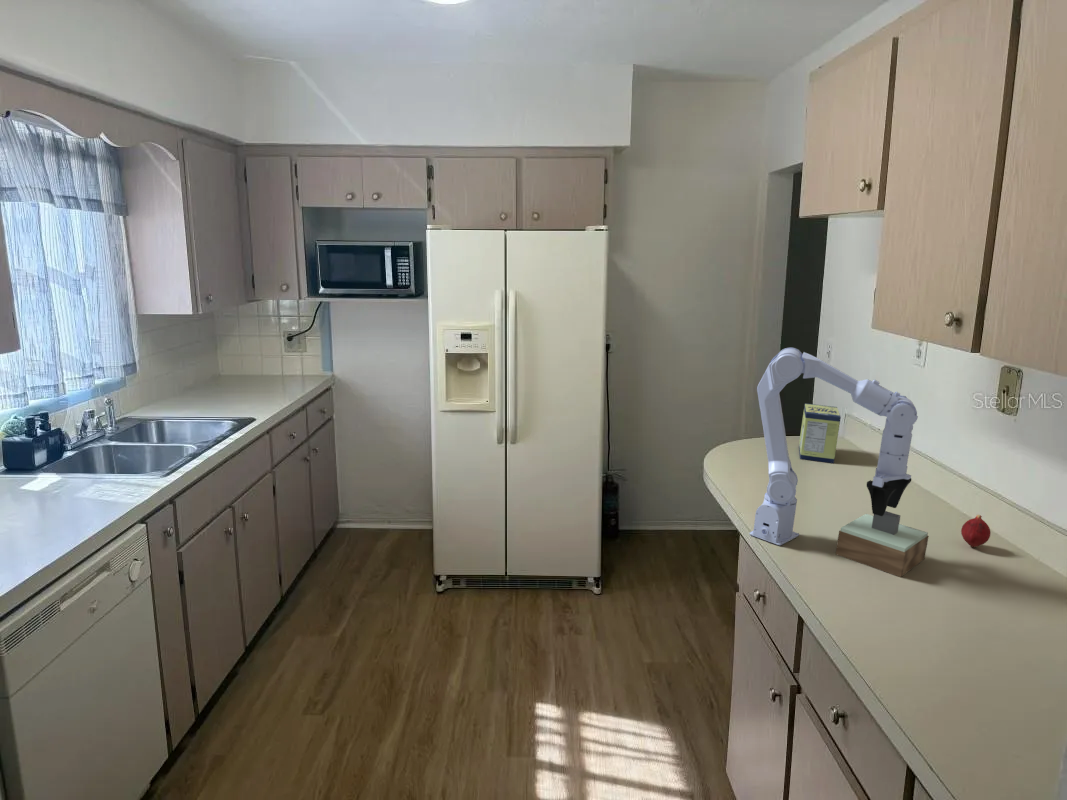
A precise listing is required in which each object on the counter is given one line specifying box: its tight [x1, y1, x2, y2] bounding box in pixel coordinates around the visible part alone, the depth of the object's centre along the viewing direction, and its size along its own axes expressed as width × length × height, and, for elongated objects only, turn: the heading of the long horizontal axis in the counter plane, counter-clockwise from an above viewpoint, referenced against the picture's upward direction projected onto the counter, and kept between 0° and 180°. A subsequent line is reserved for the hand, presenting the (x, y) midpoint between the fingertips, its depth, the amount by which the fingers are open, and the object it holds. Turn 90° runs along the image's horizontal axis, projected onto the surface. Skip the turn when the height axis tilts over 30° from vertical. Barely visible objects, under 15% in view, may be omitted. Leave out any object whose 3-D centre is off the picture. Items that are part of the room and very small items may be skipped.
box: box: [835, 529, 930, 578], centre depth 161 cm, size 14×14×6 cm
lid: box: [840, 511, 929, 552], centre depth 159 cm, size 14×14×5 cm
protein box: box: [798, 402, 841, 464], centre depth 236 cm, size 10×16×16 cm
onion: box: [960, 514, 991, 548], centre depth 168 cm, size 6×6×8 cm
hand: (884, 510), depth 160 cm, fingers open, 7 cm apart
